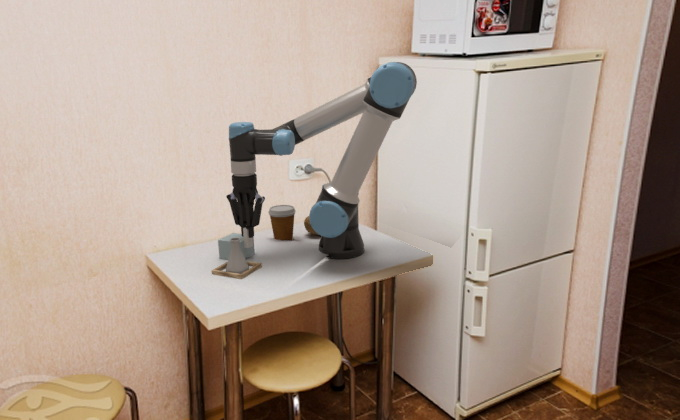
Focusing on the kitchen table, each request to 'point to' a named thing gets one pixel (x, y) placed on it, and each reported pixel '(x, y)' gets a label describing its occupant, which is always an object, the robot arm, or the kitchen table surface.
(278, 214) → the disposable coffee cup
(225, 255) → the pale blue block
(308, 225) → the potato
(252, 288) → the kitchen table surface
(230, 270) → the flask
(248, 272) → the board
